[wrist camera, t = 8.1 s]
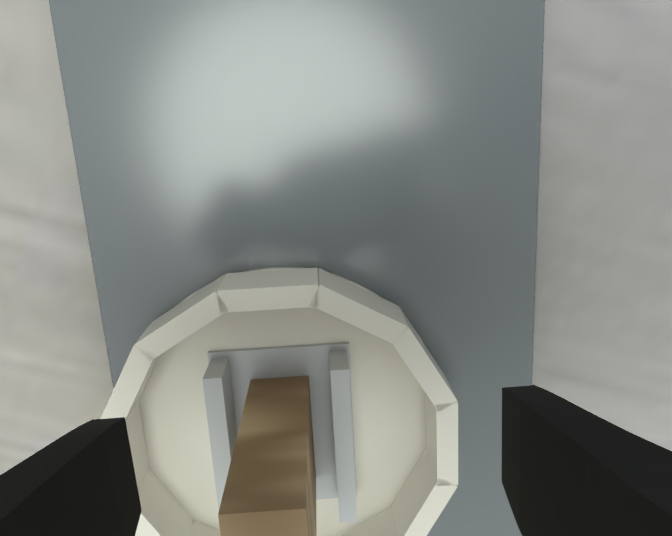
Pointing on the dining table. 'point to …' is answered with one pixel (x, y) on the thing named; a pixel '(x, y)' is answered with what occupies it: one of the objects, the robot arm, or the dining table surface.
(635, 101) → the dining table surface
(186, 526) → the plate
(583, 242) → the dining table surface
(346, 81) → the slate board
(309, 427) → the tan cardboard box
